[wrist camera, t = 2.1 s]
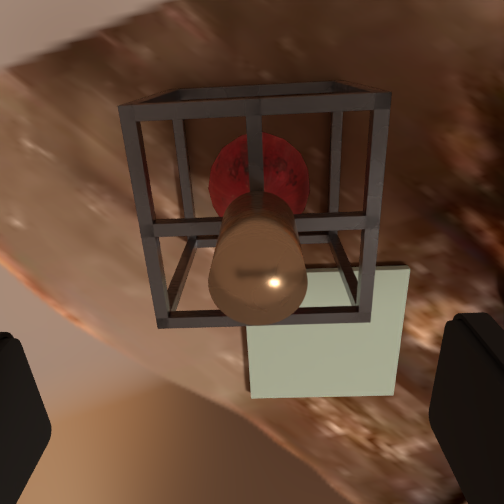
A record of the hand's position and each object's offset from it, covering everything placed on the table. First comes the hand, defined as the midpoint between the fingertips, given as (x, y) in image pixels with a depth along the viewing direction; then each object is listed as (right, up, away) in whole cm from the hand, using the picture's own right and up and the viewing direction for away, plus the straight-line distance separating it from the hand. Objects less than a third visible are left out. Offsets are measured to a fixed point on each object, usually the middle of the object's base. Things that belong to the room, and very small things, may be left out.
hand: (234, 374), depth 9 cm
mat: (+6, -4, +23) cm, 24 cm away
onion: (+1, +8, +18) cm, 20 cm away
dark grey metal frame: (+1, +8, +18) cm, 19 cm away
